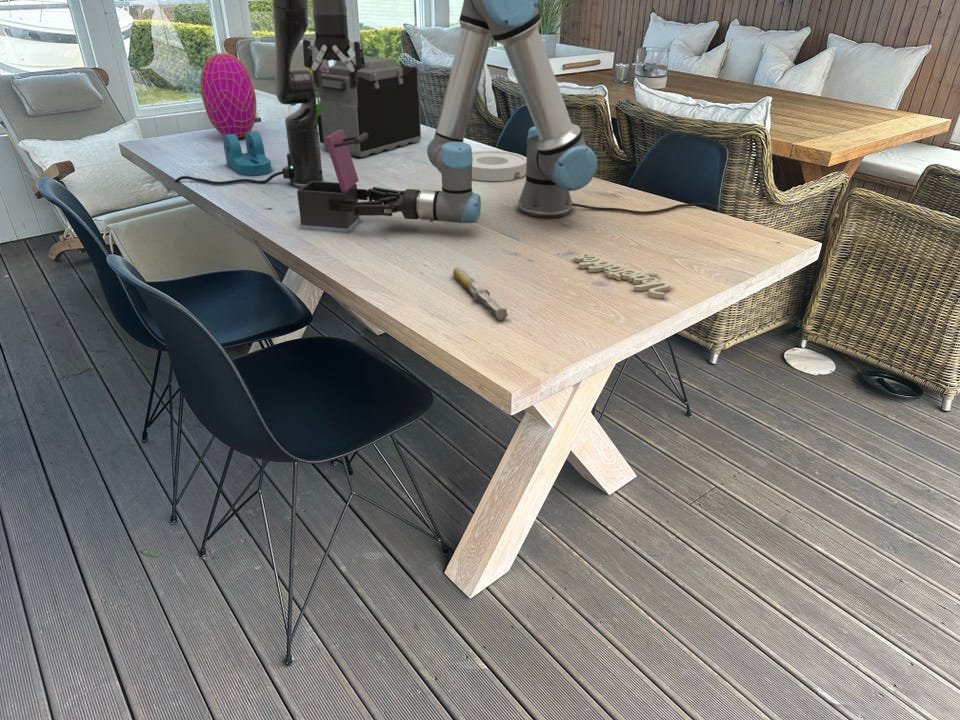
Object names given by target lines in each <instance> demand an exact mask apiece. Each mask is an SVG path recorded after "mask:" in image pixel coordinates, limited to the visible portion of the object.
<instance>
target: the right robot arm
mask: <svg viewBox="0 0 960 720" xmlns="http://www.w3.org/2000/svg"><path fill="white" fill-rule="evenodd" d="M538 4H539V0H463V3H462V6H461V10H460V15H459V18H458V23H459V25H460V27H461V29H460V33H459V37H458V41H457V44H456V49H455V53H454V58H453V61H452V65H451V69H450V74H449V76H448V81H447V85H446V89H445V92H444V97H443V99H442V100H443V101H442V105H441V109H440V113H439V117H438V120H437V121H438V122H437V125H436V129H435V133H434V135H433V136H434V137H433V138H432V139H431V140H430V141H429V143H428V145H427V148H426V154H427V157H428V161H430V164H432V166H433V167H434V168H436V169H437V170H438V172H439V173H440V174H441V190H435V189H434V190H432V189H421V190H420V189H418V188H417V189H415V188H406V189H405V190H397V189H392V188H391V189H390V188H383V187H376V186H373V187H372V188H368V189H365V188H357V194H358V202H355V200H354V199H353V200H337V199H329V209H330V210H334V211H347V212H353V215H354V216H359V217H360V216H361V217H362V216H369V217H371V216H374V217H375V216H383V217H393V214H396V213H398V212H400V213H402V216H403V218H404V219H406V220H419V219H420V220H422V221H429V223H434V222H444V223H445V222H447V223H454V224H455V223H457V224H475V223H477V222H478V221H479V219H480V217H481V212H482V211H481V210H482V202H481V200H482V199H481V195H480V194H479V193H477V192H476V193H475V192H473V179H472V161H473V158H472V152H473V151H472V150H473V149H472V146H471V145H470V144H469V143H467V142H464V139H465V136H466V133H467V132H466V131H467V128H468V125H469V121H470V118H471V113H472V110H473V107H474V103H475V99H476V95H477V91H478V88H479V85H480V82H481V81H480V80H481V77H482V74H483V70H484V66H485V63H486V59H487V56H488V51H489V48H490V44H491V40H492V39H493V41H494V42H495V43H497V44H500V45H502V47H503V48H504V51H505V54H506V56H507V59H508V61H509V64H510V66H511V69H512V72H513V74H514V76H515V80H516V81H517V84H518V87H519V89H520V91H521V95H522V98H523V100H524V102H525V104H526V107H527V111H528V112H529V114H530V118H531V120H532V122H533V125H534V126H531V127H530V128H529V129H528V132H527V137H526V159H527V163H526V175H525V182H524V185H523V187H522V191H521V192H520V193H521V194H520V196H519V199H518V200H517V206H518V207H517V209H518V211H519V212H520V213H522V214H523V215H526V216H530V217H535V218H543V219H545V218H548V219H549V218H550V219H551V218H559V217H564V216H568V215H569V214H571V213H572V211H573V207H577V208H583V209H590V210H596V211H613V212H625V213H631V214H636V215H637V214H639V215H650V214H651V215H652V214H657V213H663V212H668V211H671V210H675V209H677V208H678V209H679V208H682V207H697V206H706V207H709V208H711V209H713V210H715V212H720V210H719V208H717V207H716V206H715V205H713V204H711V203H706V202H694V203H680V204H676V205H672V206H669V207H665V208H660V209H656V210H643V211H642V210H633V209H627V208H621V207H620V208H619V207H601V206H600V207H599V206H590V205H585V204H580V203H573V201H572V197H571V193H570V192H572V191H574V192H576V191H578V190H581V189H583V188H585V187H586V186H587V185H588V184H589V183H590V182H591V181H592V180H593V178H594V176H595V174H596V172H597V168H598V160H597V159H598V158H597V156H596V154H595V152H594V151H593V150H592V149H591V148H590V147H589V146H587V144H586V140H585V138H584V136H583V132H582V130H581V127H580V126H579V125H578V124H574V123H572V121H571V117H570V114H569V111H568V110H567V107H566V104H565V101H564V98H563V95H562V92H561V89H560V87H559V83H558V82H557V78H556V76H555V72H554V70H553V68H552V64H551V62H550V59H549V56H548V52H547V51H546V48H545V45H544V42H543V38H542V37H541V34H540V31H539V26H540V23H541V21H542V16H541V13H540V11H539V8H538Z"/></svg>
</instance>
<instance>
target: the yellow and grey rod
mask: <svg viewBox="0 0 960 720" xmlns="http://www.w3.org/2000/svg"><path fill="white" fill-rule="evenodd" d="M452 274H453V277H454V279H455V280H457V281H458V282H459V283H460V285H462V287H464V289H466V290H467V291H468V293H470V295H471V296H472V298H473V300H474V302H477V303H478V302H480V303H482V304H483V305H484V306H485V307H486V308H487V309H488V310H489V311H490V312H491V313H492V314H493V315H494V316H495V317H496V320H497V321H503V320H504V319H506V318H507V317H509V314H508V310H507V308H506V307H502V306H501V305H500V303H498V302H497V301H496V300H494V299H493V298H492V297H491V296H490V295H491V293H490V290H488V289H486V288H483V287H482V286H481V285H480V284H479V283H478V282H477V281H476V280H474V278H473V277H471V275H469V274H468V273H467V272H466V270H465V269H464V268H463V267H462V266H456V267H454V268H453V271H452Z"/></svg>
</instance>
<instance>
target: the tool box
mask: <svg viewBox="0 0 960 720" xmlns="http://www.w3.org/2000/svg"><path fill="white" fill-rule="evenodd" d="M352 59H353V61H354V63H355V64H356V58H355V56H353V57H352ZM364 62H365V67H364V68H362V69H360V70H358V72H357V74H358V86H356V88H355V89H351V88H350V78H349V72H350V70H349V69H348V67H347V66H346V65H345V64H344V63H343V62H342V60H340V61H335V63H334V64H333V65H330V66H329V67H328V69H329V70H328V71H326V72H321V73H322V84H323V86H322V87H317V86H316V85H315V91H316V93H317V94H318V96H319V103H320V111H321V115H319V116H318V117H317V120H318V123H317V127H318V137H319V144H323V146H324V149H325V150H327V151H329V150H328V147H327V144H326V141H325V138H326V137H328V136H329V135H331V134H333V133H335V132H336V131H338V130H342V129H343V131H344V135H345V138H350V137H354V136H359V135H361V134H363V133H365V132H366V133H368V135H369V137H368V138H367V139H366V140H364V141H363V142H361V143H360V144H358V145H355V144H350V145H348V148H349V151H350V154H351V156H353V157H357V158H362V159H363V158H366V157H367V158H368V157H369V155H371V154H375V155H377V154H381V153H382V152H383V151H391V150H395V149H396V148H397V147H405V146H407V145H408V144H416V143H418V142H419V141H421V137H422V128H421V97H420V92H419V91H420V89H419V68H418V67H417V66H408V65H400V64H396V62H395V60H394V59H393V58H385V57H377V56H367V55H364ZM311 73H312V75H313V72H311ZM351 141H352V140H351ZM347 142H348V141H347Z"/></svg>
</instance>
